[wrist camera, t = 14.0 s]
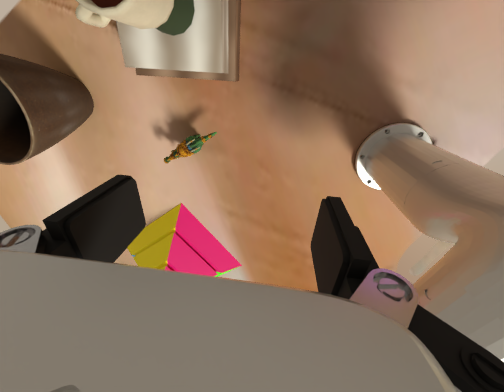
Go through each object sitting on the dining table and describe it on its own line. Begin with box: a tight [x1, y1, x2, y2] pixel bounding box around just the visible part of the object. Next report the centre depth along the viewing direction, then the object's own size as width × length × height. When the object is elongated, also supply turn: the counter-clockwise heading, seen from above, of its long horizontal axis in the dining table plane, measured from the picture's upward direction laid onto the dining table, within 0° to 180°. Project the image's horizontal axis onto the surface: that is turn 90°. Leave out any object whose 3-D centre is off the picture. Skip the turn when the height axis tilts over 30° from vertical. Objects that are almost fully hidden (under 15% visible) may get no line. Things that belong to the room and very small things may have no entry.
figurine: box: [164, 132, 217, 163], centre depth 39 cm, size 3×12×8 cm, turn 118°
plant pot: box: [0, 54, 94, 165], centre depth 35 cm, size 15×15×16 cm
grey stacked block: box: [116, 0, 241, 81], centre depth 30 cm, size 16×16×8 cm
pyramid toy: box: [127, 203, 242, 277], centre depth 53 cm, size 25×25×14 cm
